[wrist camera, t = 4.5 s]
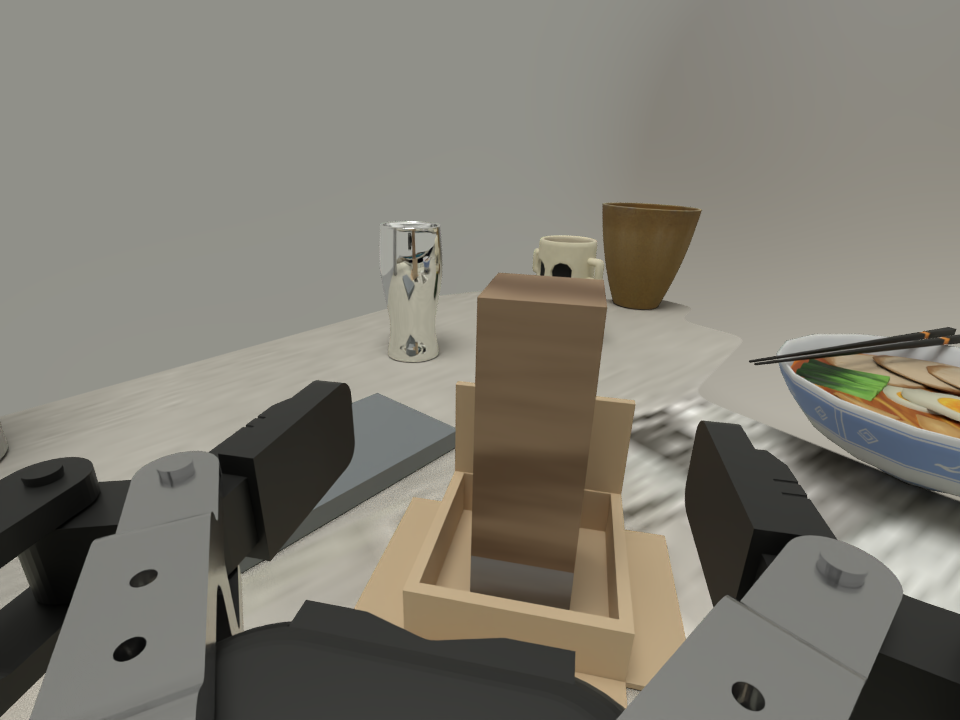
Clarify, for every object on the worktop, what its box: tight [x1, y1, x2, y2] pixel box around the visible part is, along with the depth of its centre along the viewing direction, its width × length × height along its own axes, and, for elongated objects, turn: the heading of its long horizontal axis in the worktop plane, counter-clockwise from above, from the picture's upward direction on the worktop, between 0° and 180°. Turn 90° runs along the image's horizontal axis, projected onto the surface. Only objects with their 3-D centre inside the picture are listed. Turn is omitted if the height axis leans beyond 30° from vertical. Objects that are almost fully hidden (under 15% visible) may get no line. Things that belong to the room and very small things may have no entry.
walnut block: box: [470, 273, 607, 610], centre depth 24 cm, size 5×5×16 cm
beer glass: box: [379, 221, 443, 362], centre depth 57 cm, size 7×7×15 cm
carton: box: [354, 381, 686, 709], centre depth 24 cm, size 13×16×9 cm
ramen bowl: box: [749, 327, 960, 496], centre depth 38 cm, size 25×23×8 cm
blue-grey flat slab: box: [239, 393, 456, 573], centre depth 36 cm, size 18×10×2 cm, turn 140°
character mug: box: [533, 236, 604, 280], centre depth 64 cm, size 11×7×13 cm, turn 42°
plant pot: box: [603, 203, 702, 309], centre depth 81 cm, size 15×15×16 cm
